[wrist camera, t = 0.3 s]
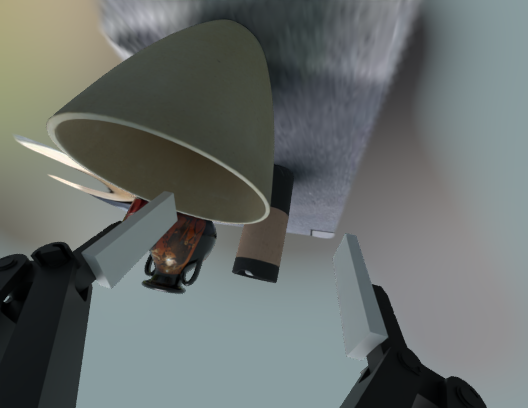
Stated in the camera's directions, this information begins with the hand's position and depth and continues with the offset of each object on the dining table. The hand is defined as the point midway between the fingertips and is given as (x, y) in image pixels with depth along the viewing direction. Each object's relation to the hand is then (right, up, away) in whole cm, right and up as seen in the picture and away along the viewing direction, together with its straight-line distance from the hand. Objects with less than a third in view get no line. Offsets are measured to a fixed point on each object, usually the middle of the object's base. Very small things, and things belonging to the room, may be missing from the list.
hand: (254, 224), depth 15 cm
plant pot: (-3, +17, +6) cm, 18 cm away
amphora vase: (-24, 0, +55) cm, 60 cm away
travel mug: (+3, +8, +24) cm, 26 cm away
